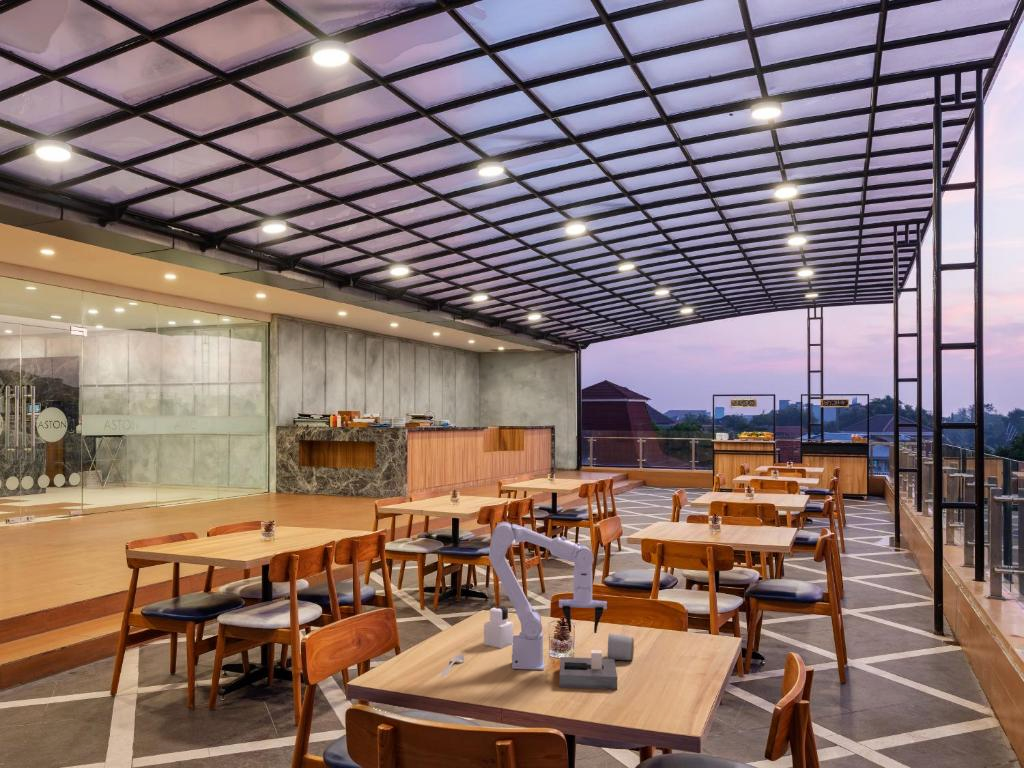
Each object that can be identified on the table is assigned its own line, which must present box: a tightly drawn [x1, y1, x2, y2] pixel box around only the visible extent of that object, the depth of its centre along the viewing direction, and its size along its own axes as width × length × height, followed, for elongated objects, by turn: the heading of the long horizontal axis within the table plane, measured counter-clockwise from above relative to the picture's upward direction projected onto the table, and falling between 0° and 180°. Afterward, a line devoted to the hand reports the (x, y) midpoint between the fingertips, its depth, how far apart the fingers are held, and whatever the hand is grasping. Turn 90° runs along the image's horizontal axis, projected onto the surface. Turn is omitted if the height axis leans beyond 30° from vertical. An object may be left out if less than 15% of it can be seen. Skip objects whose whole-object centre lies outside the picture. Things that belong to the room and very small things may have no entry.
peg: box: [590, 649, 603, 669], centre depth 219 cm, size 6×6×8 cm
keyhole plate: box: [559, 656, 618, 691], centre depth 220 cm, size 16×16×4 cm
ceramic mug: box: [606, 632, 635, 661], centre depth 240 cm, size 11×8×8 cm
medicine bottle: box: [483, 606, 514, 649], centre depth 253 cm, size 7×7×12 cm
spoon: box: [440, 654, 465, 677], centre depth 228 cm, size 4×21×2 cm, turn 165°
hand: (582, 631), depth 231 cm, fingers open, 7 cm apart
